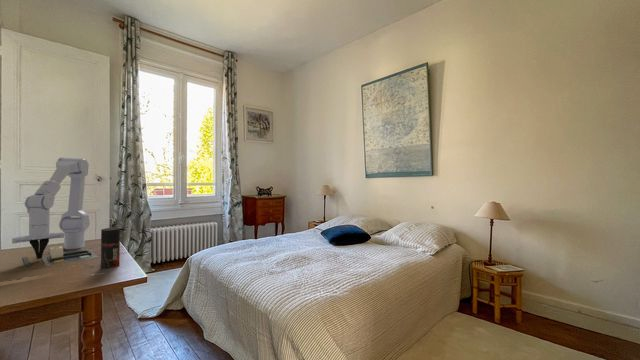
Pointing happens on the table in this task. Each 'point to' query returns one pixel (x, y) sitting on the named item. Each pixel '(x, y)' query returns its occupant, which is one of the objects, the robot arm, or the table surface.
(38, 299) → the table surface
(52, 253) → the toggle
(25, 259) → the dark gray bar
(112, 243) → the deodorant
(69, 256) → the panel
